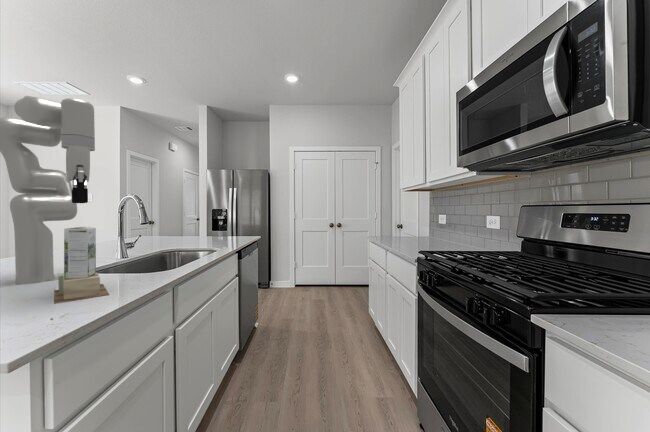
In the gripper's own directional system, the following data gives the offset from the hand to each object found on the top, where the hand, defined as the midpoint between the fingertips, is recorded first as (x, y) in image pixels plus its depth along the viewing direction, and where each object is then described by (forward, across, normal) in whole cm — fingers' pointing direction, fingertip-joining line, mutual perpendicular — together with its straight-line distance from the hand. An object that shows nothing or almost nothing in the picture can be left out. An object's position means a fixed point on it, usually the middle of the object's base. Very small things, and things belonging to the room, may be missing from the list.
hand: (79, 202), depth 88 cm
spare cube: (+27, -8, -2) cm, 28 cm away
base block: (+27, 0, 0) cm, 27 cm away
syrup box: (+22, 0, 0) cm, 22 cm away
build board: (+28, -2, 0) cm, 28 cm away
